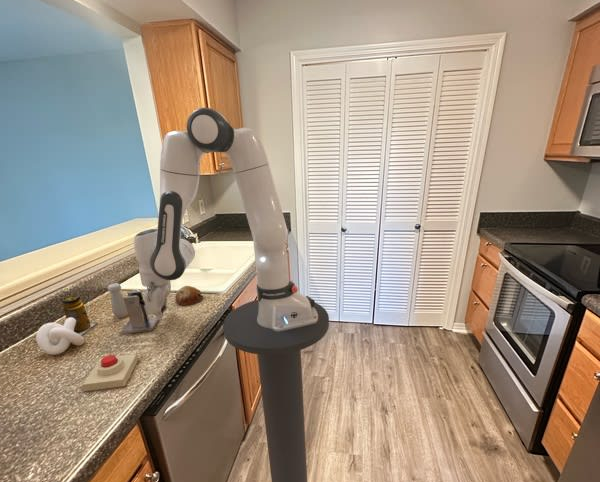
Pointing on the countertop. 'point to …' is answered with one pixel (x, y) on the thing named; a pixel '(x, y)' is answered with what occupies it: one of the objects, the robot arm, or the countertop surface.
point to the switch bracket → (137, 315)
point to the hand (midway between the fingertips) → (162, 313)
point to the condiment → (77, 314)
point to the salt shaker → (117, 301)
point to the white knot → (58, 336)
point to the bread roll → (188, 295)
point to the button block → (111, 373)
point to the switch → (144, 303)
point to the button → (108, 361)
